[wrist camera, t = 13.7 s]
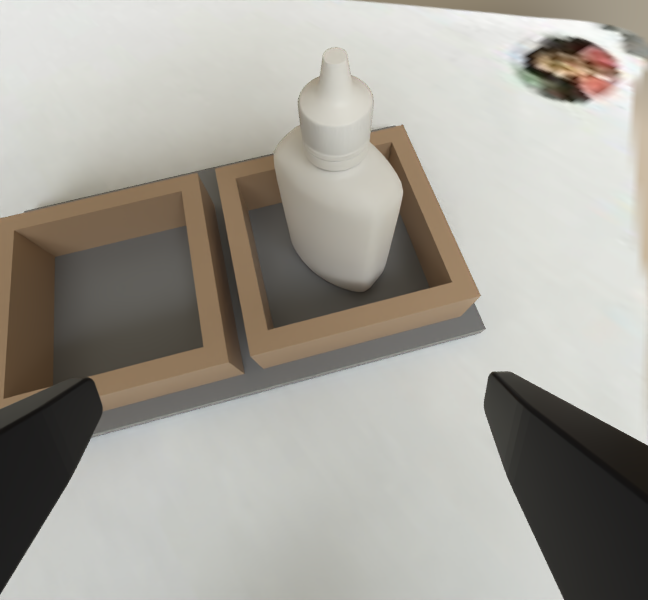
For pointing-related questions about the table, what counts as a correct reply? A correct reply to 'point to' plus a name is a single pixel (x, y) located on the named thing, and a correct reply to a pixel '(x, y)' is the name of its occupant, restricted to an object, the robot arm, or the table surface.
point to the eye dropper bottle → (338, 180)
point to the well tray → (213, 292)
